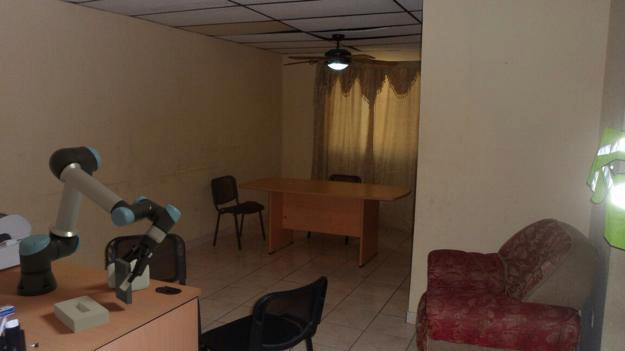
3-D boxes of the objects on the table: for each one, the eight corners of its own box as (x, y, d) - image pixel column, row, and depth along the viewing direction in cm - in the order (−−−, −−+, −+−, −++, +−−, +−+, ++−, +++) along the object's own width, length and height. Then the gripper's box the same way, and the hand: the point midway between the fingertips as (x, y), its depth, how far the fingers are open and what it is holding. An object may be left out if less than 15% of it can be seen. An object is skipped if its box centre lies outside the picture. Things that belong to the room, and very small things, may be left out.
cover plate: (115, 297, 188) (114, 259, 186) (120, 296, 190) (119, 258, 187) (127, 304, 181) (125, 265, 179) (132, 303, 183) (130, 263, 181)
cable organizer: (115, 296, 199) (114, 270, 197) (107, 288, 207) (106, 263, 205) (149, 288, 209) (149, 263, 207) (141, 281, 217) (140, 257, 215)
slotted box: (54, 318, 177) (53, 303, 176) (87, 309, 186) (86, 295, 185) (75, 337, 163) (74, 320, 163) (109, 326, 172) (108, 310, 171)
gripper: (172, 249, 186) (136, 298, 177) (145, 238, 201) (110, 282, 192) (159, 239, 182) (121, 288, 172) (132, 228, 197) (96, 273, 188)
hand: (115, 285), depth 182 cm, fingers closed on cover plate, 10 cm apart
